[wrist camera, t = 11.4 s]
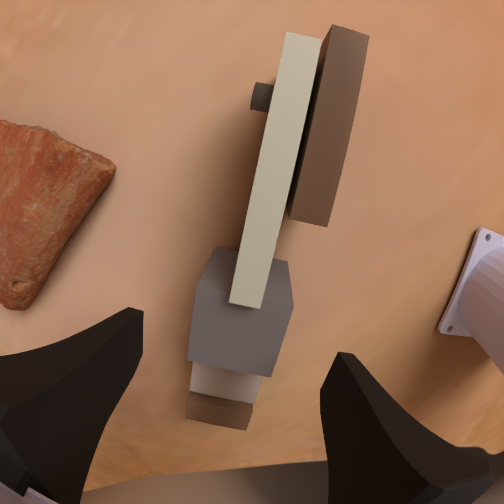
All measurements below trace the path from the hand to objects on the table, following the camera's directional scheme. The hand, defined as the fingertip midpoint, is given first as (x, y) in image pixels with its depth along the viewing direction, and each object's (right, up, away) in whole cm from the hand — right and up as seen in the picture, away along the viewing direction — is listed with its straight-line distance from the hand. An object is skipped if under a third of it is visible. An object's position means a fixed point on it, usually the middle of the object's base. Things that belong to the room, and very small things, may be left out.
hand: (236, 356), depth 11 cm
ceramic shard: (-17, +9, +7) cm, 21 cm away
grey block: (0, +2, +7) cm, 7 cm away
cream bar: (+2, +8, +5) cm, 10 cm away
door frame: (+1, +5, +7) cm, 8 cm away
